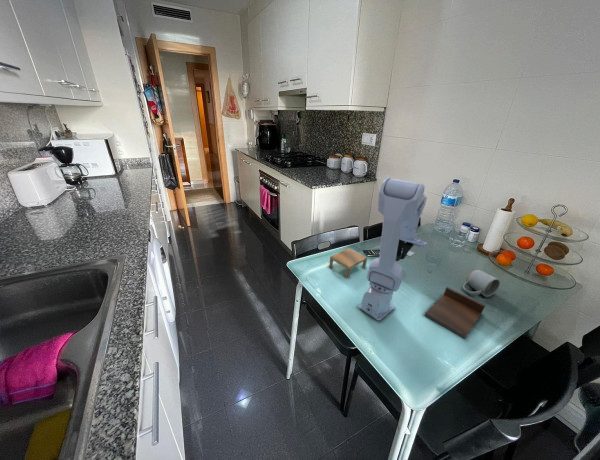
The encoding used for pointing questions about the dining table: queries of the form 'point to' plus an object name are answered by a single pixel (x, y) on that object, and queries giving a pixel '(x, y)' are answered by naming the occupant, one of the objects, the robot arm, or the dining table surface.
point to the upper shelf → (348, 259)
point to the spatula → (406, 255)
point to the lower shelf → (456, 312)
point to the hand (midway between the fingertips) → (400, 257)
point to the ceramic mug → (481, 283)
